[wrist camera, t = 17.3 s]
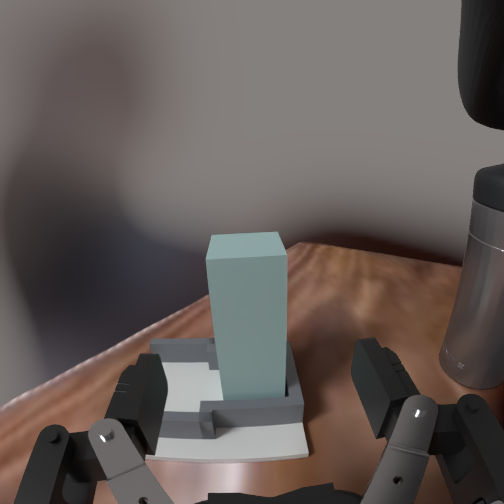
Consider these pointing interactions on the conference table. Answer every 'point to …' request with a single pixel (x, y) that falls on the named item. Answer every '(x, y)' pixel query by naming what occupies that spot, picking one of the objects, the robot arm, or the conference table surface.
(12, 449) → the conference table surface
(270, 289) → the teal post
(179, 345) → the keyhole guide
